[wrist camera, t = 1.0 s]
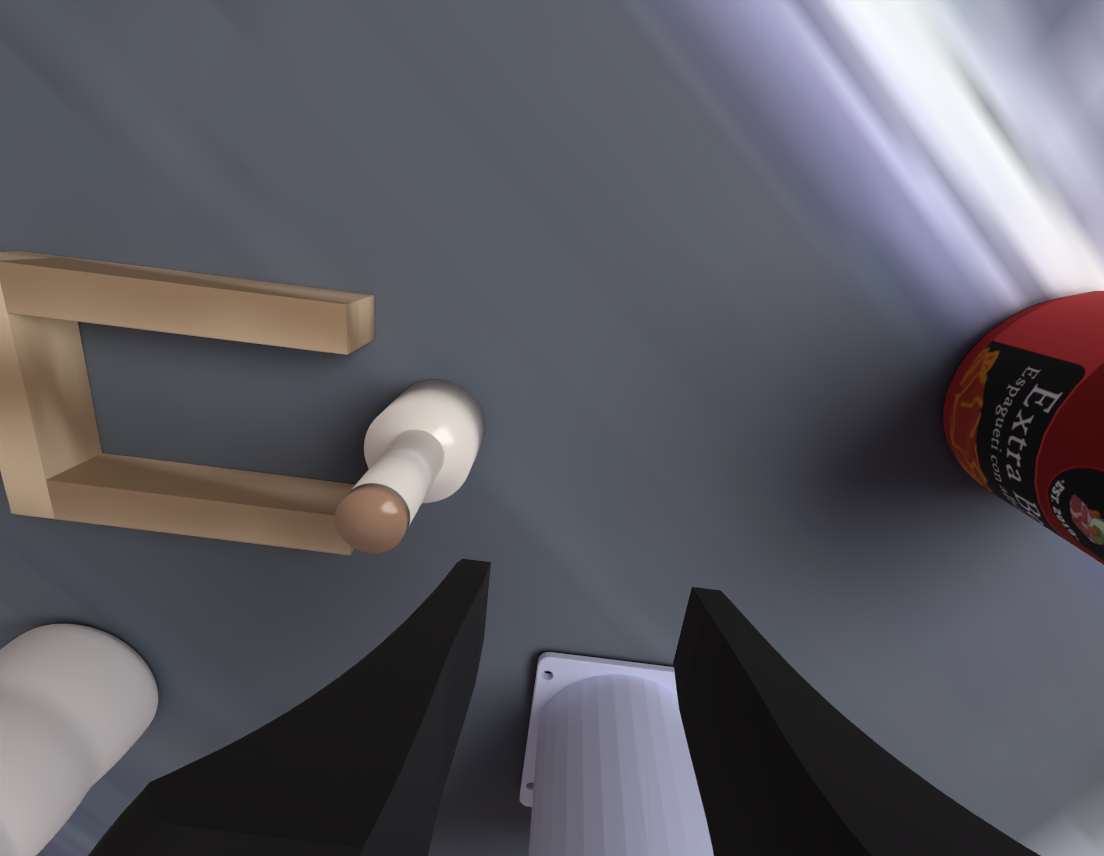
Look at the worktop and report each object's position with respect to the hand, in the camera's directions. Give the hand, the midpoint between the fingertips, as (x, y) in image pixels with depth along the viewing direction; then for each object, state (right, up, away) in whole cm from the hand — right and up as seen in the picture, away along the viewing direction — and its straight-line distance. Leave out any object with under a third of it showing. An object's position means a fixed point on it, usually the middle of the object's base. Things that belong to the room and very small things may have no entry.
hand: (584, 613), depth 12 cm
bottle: (-5, +4, +9) cm, 11 cm away
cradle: (-13, +5, +9) cm, 17 cm away
